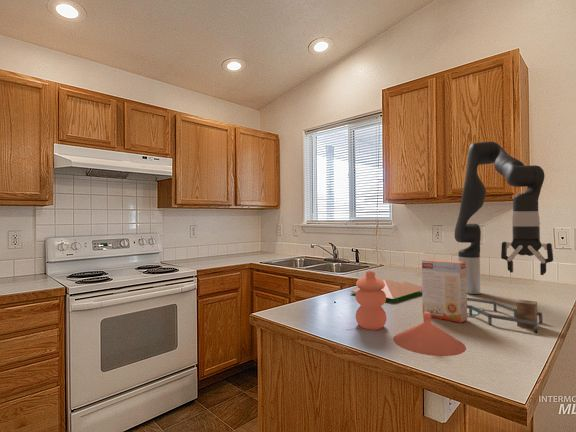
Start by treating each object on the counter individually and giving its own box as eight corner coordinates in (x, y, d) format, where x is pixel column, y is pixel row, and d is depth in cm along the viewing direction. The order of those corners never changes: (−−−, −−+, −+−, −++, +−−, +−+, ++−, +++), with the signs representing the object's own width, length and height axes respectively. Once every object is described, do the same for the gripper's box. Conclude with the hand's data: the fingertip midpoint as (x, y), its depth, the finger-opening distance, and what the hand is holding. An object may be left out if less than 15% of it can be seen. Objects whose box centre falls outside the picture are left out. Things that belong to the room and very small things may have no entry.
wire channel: (432, 314, 130) (432, 305, 130) (451, 303, 146) (451, 295, 147) (537, 333, 109) (537, 322, 109) (545, 317, 125) (545, 307, 125)
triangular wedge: (345, 298, 160) (345, 280, 160) (385, 288, 182) (385, 272, 182) (389, 307, 143) (389, 288, 143) (427, 295, 165) (427, 278, 165)
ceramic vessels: (480, 344, 100) (479, 279, 100) (447, 366, 86) (446, 290, 86) (376, 319, 126) (376, 267, 126) (338, 332, 112) (338, 273, 112)
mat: (448, 310, 135) (448, 310, 135) (456, 305, 144) (456, 304, 144) (476, 315, 129) (476, 314, 129) (483, 309, 137) (483, 308, 137)
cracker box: (468, 320, 123) (467, 261, 123) (460, 323, 119) (459, 262, 119) (429, 312, 134) (429, 258, 134) (422, 315, 130) (421, 259, 130)
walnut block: (517, 326, 116) (516, 302, 116) (519, 322, 120) (519, 299, 120) (535, 329, 113) (535, 304, 113) (537, 325, 116) (537, 301, 116)
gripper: (498, 225, 118) (499, 272, 118) (551, 225, 109) (552, 277, 109) (503, 224, 124) (504, 270, 124) (553, 225, 114) (554, 274, 114)
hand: (526, 273), depth 116 cm, fingers open, 8 cm apart
